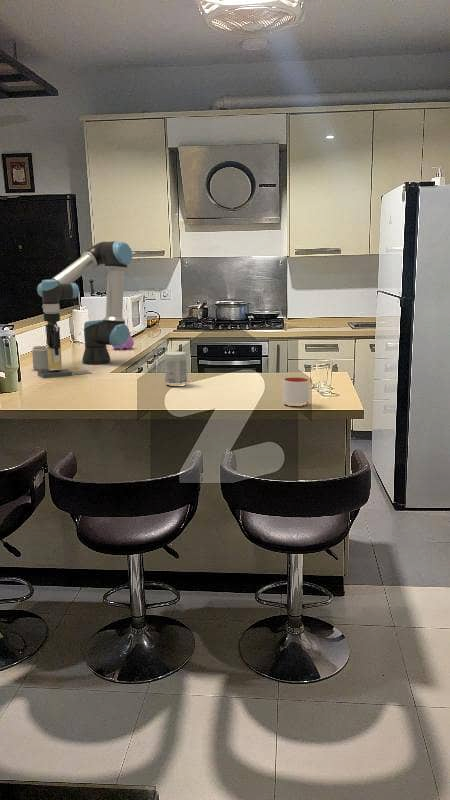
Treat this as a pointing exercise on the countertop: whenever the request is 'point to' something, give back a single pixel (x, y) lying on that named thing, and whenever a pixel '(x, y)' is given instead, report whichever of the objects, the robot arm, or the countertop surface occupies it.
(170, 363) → the supplement tub
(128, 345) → the teapot
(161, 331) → the countertop surface
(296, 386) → the cup
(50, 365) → the nut block
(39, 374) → the dark grey flat slab
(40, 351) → the can
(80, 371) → the rubber pad
